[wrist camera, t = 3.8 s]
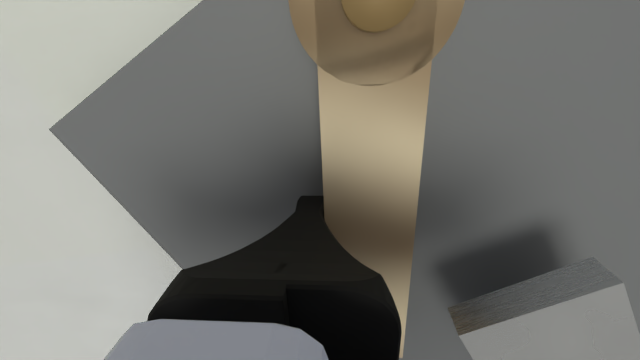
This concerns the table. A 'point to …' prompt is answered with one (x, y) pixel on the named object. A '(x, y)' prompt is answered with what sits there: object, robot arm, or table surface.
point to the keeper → (552, 318)
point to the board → (438, 151)
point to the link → (374, 121)
